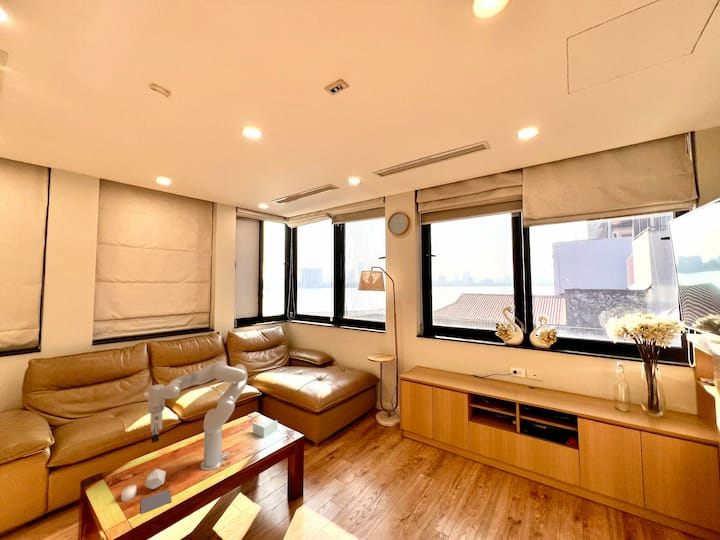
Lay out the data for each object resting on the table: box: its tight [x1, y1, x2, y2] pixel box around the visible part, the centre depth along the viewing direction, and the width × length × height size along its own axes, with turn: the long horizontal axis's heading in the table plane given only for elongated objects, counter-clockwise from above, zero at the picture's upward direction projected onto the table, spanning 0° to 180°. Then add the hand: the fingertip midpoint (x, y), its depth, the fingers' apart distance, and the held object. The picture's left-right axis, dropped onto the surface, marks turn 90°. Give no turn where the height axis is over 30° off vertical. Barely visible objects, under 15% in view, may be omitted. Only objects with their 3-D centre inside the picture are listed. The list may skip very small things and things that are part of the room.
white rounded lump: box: [120, 484, 137, 502], centre depth 144 cm, size 6×6×4 cm
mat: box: [140, 488, 172, 515], centre depth 141 cm, size 12×11×1 cm
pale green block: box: [252, 420, 278, 439], centre depth 206 cm, size 12×12×8 cm
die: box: [144, 468, 167, 490], centre depth 150 cm, size 8×9×10 cm
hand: (155, 441), depth 158 cm, fingers closed
